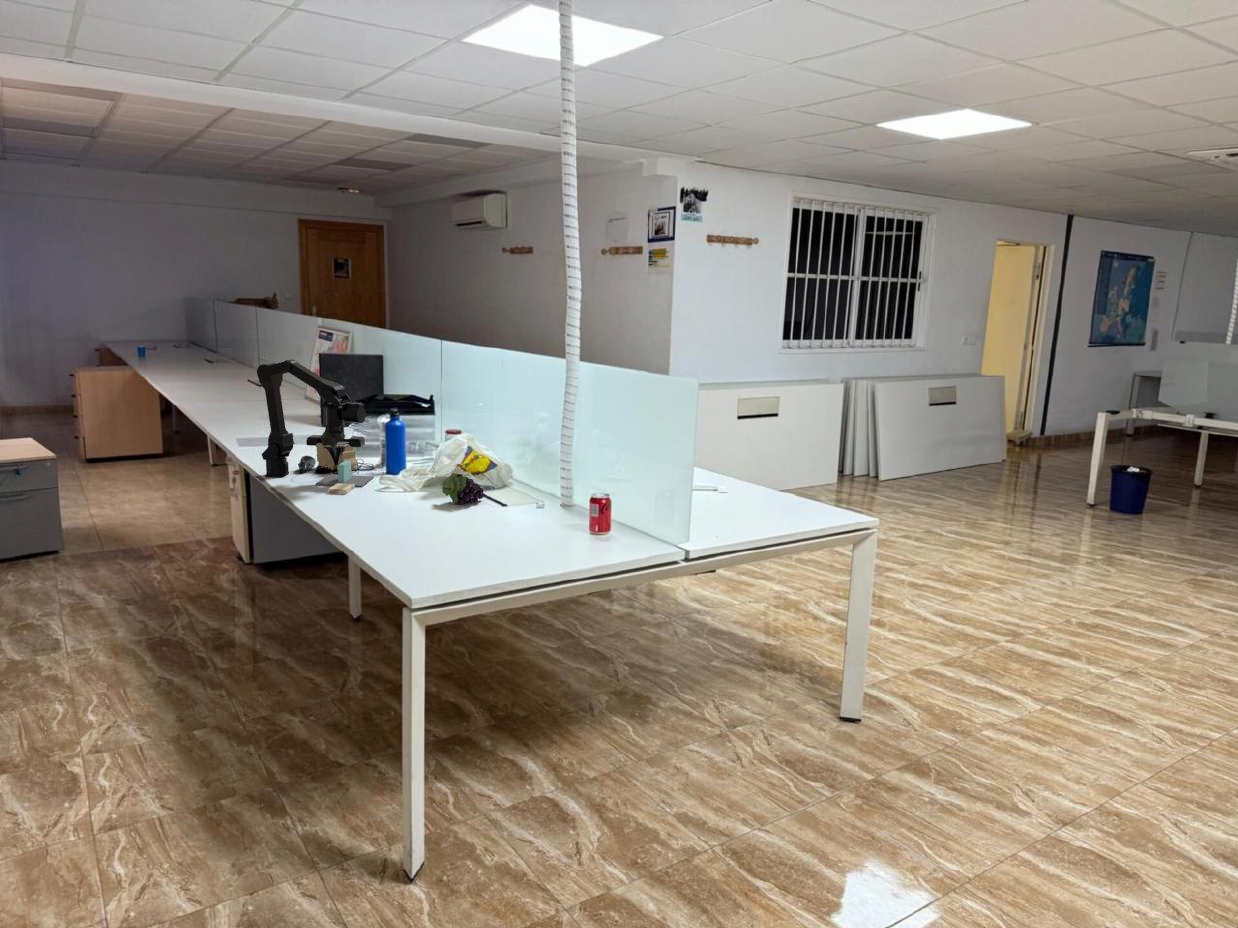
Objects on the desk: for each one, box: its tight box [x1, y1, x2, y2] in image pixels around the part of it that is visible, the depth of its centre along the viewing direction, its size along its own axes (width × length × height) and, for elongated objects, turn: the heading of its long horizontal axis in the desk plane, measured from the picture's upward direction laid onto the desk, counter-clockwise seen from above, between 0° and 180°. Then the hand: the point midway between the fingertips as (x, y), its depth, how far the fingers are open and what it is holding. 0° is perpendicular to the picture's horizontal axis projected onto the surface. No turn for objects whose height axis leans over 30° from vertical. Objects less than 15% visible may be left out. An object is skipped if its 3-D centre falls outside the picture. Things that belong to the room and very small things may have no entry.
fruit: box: [441, 472, 485, 505], centre depth 283 cm, size 10×11×15 cm
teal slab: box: [337, 461, 352, 483], centre depth 303 cm, size 2×8×6 cm, turn 0°
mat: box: [315, 473, 375, 488], centre depth 304 cm, size 16×14×1 cm
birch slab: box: [328, 483, 356, 495], centre depth 291 cm, size 6×8×2 cm
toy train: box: [314, 443, 359, 471], centre depth 321 cm, size 6×17×10 cm, turn 57°
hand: (336, 465), depth 303 cm, fingers closed
